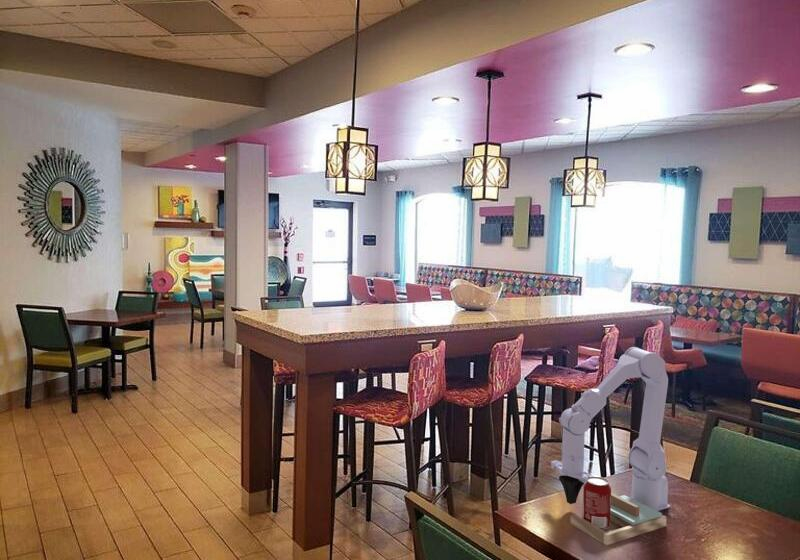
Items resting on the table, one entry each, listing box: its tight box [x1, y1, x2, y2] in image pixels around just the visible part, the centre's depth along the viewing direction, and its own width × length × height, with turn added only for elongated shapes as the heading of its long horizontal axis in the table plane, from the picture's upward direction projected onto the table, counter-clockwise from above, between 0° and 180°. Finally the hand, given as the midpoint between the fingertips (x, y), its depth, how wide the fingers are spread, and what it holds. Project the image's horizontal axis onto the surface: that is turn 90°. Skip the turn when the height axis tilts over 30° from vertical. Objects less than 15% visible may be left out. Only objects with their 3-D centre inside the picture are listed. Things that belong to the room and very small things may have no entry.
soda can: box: [581, 475, 612, 531], centre depth 148 cm, size 7×7×12 cm
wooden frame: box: [570, 513, 667, 546], centre depth 150 cm, size 22×13×2 cm, turn 118°
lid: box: [610, 492, 663, 525], centre depth 152 cm, size 11×12×3 cm
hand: (571, 502), depth 157 cm, fingers closed
